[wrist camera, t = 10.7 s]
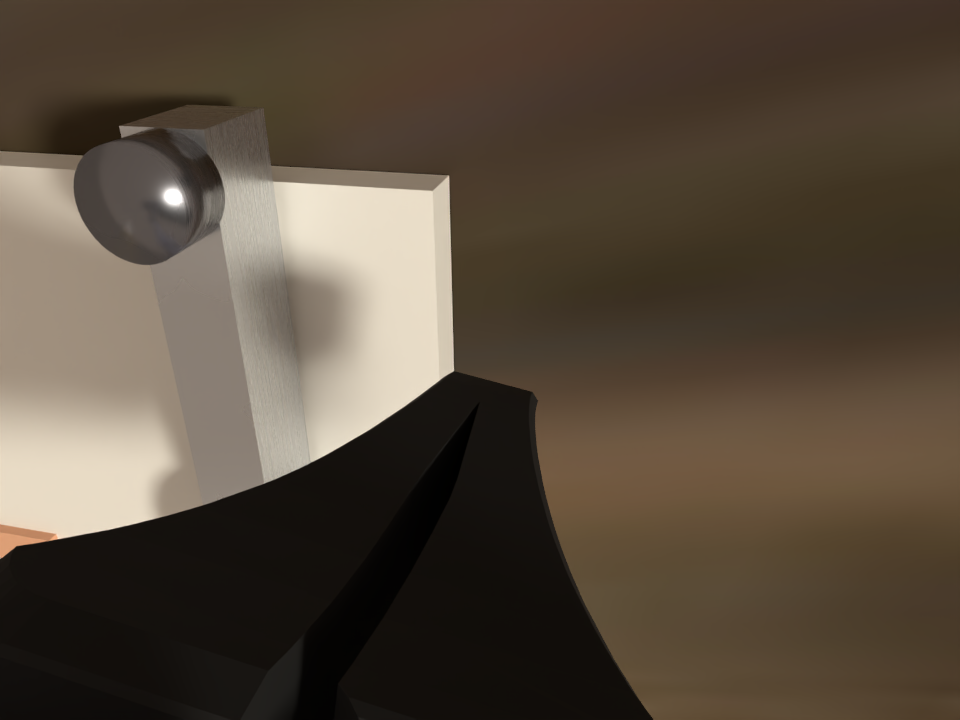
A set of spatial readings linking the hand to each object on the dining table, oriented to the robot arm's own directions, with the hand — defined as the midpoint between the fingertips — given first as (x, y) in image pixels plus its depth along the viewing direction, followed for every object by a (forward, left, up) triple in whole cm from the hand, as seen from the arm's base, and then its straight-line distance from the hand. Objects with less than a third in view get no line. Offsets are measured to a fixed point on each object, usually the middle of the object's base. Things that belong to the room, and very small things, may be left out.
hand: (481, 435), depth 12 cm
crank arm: (-2, +6, -4) cm, 8 cm away
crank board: (-6, +9, -6) cm, 12 cm away
